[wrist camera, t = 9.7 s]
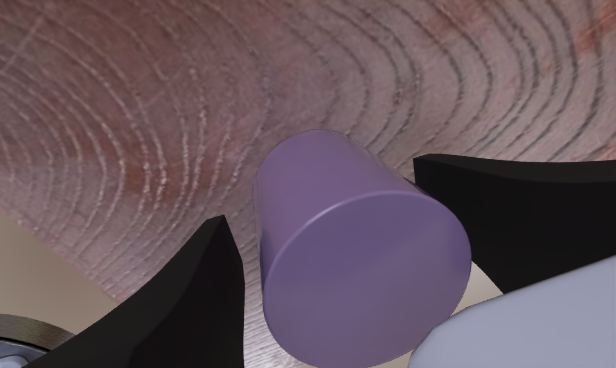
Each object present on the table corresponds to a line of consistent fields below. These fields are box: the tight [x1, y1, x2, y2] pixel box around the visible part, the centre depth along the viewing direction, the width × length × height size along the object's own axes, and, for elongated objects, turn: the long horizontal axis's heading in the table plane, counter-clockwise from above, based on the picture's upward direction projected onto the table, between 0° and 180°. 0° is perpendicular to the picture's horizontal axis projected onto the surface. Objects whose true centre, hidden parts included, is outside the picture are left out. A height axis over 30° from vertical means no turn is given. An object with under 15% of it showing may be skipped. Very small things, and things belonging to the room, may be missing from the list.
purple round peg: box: [253, 130, 472, 368], centre depth 10 cm, size 5×5×6 cm
